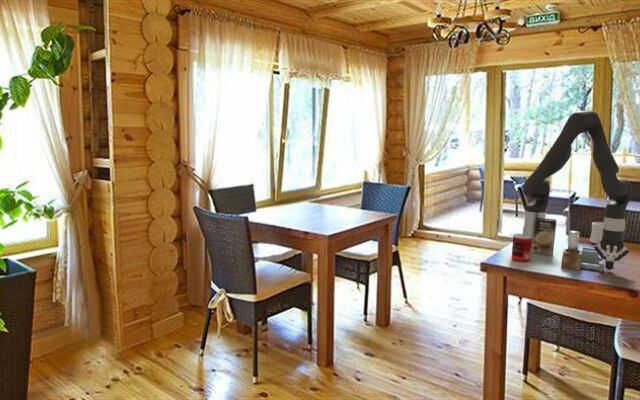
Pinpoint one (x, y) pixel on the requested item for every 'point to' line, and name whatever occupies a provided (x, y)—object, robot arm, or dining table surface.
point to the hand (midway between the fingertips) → (609, 269)
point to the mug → (596, 232)
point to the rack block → (590, 256)
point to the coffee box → (544, 236)
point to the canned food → (521, 247)
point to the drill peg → (573, 241)
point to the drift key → (593, 266)
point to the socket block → (571, 260)
